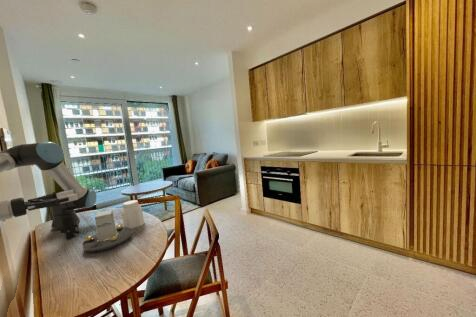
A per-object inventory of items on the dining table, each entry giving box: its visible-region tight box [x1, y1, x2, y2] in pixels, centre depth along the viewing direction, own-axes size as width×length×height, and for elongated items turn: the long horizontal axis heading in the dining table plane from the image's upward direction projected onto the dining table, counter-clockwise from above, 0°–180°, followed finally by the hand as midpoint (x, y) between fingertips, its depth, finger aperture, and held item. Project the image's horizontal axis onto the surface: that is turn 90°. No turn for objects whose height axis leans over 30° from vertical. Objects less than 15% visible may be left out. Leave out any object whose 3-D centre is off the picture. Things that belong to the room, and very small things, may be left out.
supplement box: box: [94, 209, 116, 240], centre depth 110 cm, size 7×7×13 cm
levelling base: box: [82, 223, 133, 253], centre depth 111 cm, size 22×22×6 cm
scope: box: [59, 213, 81, 240], centre depth 123 cm, size 8×14×10 cm
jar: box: [121, 199, 145, 230], centre depth 131 cm, size 12×10×15 cm
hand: (75, 194), depth 101 cm, fingers open, 13 cm apart
